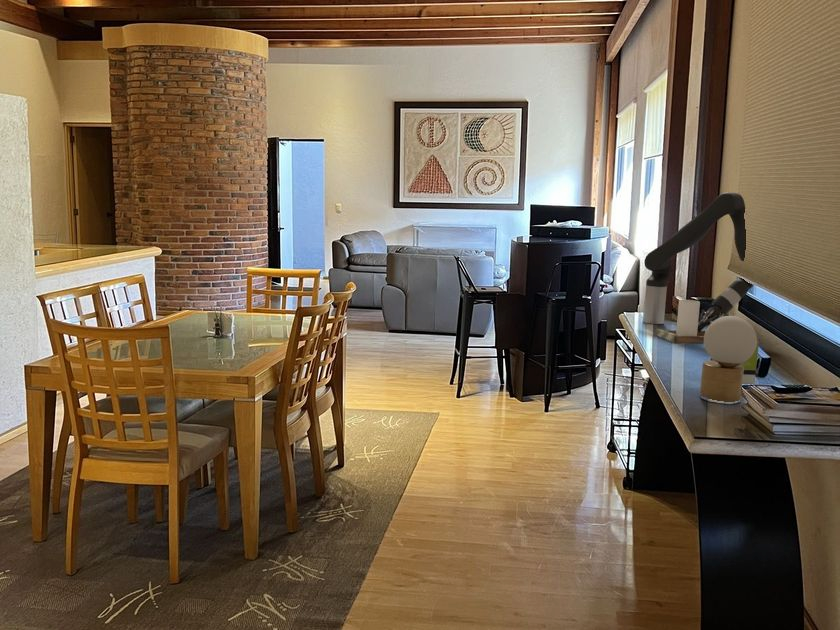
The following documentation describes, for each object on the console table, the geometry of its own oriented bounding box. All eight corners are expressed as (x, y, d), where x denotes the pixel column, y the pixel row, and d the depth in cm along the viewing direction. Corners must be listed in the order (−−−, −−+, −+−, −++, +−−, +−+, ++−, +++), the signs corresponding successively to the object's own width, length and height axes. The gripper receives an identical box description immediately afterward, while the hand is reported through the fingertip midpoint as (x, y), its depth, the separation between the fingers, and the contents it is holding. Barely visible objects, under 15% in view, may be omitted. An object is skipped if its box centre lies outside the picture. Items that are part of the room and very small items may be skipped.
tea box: (707, 374, 265) (711, 330, 262) (737, 375, 264) (742, 331, 262) (723, 385, 250) (727, 339, 247) (755, 386, 249) (760, 340, 247)
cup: (693, 338, 331) (697, 300, 329) (698, 341, 323) (702, 303, 321) (673, 337, 332) (676, 299, 330) (678, 340, 324) (681, 302, 321)
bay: (656, 335, 334) (657, 328, 333) (708, 336, 338) (709, 329, 338) (673, 342, 319) (674, 335, 319) (728, 342, 324) (729, 335, 323)
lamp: (759, 409, 222) (769, 321, 219) (710, 408, 221) (719, 319, 217) (734, 394, 237) (742, 312, 233) (688, 394, 236) (696, 311, 232)
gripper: (712, 292, 334) (683, 321, 334) (730, 296, 321) (700, 326, 321) (722, 305, 336) (693, 333, 336) (740, 309, 323) (710, 339, 323)
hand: (696, 330), depth 328 cm, fingers closed
